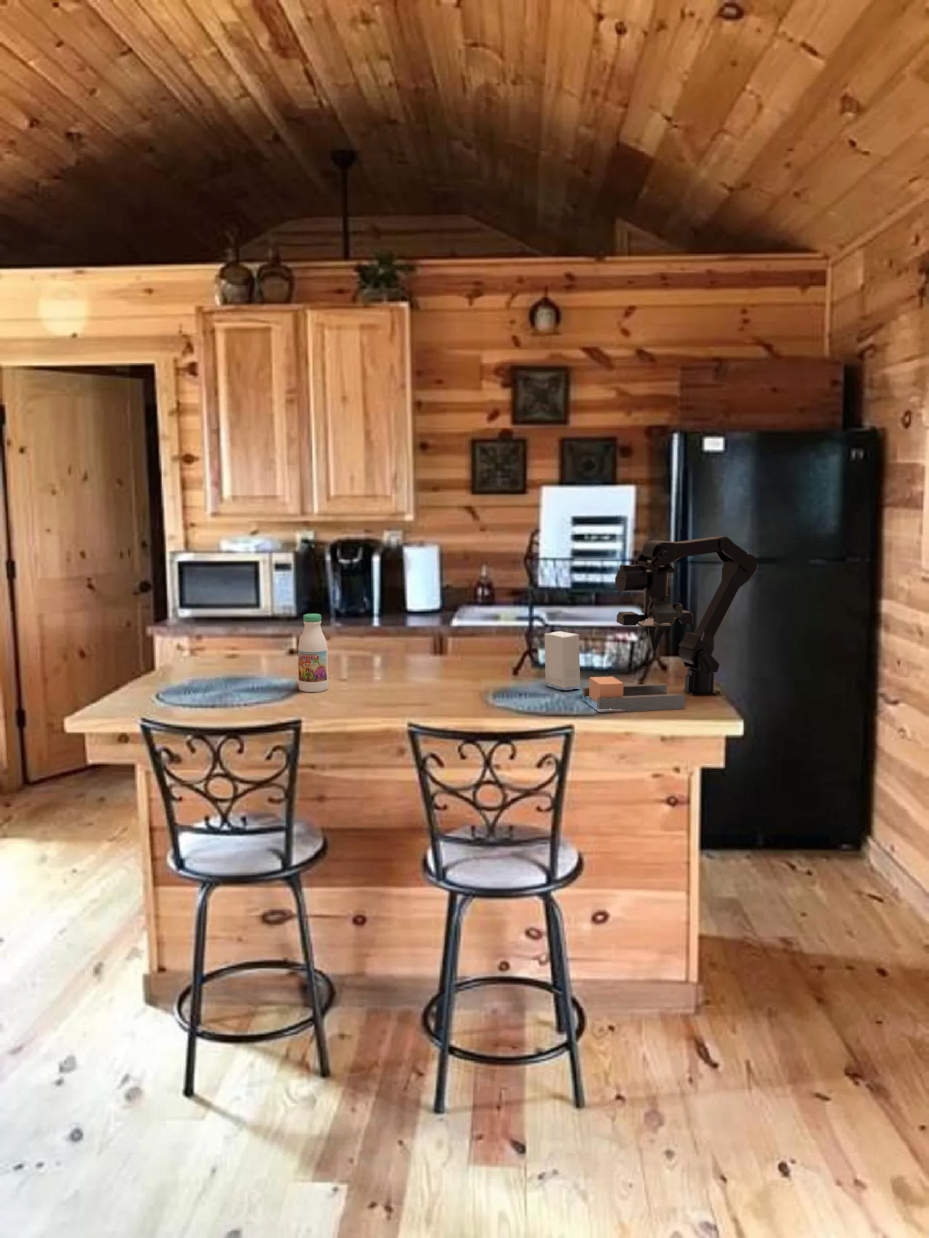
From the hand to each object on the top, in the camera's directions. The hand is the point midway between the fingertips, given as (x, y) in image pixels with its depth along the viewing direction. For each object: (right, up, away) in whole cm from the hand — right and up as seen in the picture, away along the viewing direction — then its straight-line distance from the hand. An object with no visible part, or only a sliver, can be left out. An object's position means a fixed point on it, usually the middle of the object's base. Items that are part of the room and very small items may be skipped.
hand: (653, 651), depth 265 cm
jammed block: (-13, -12, -8) cm, 20 cm away
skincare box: (-22, -10, +11) cm, 27 cm away
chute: (-6, -13, -6) cm, 16 cm away
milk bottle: (-88, -11, +8) cm, 89 cm away
